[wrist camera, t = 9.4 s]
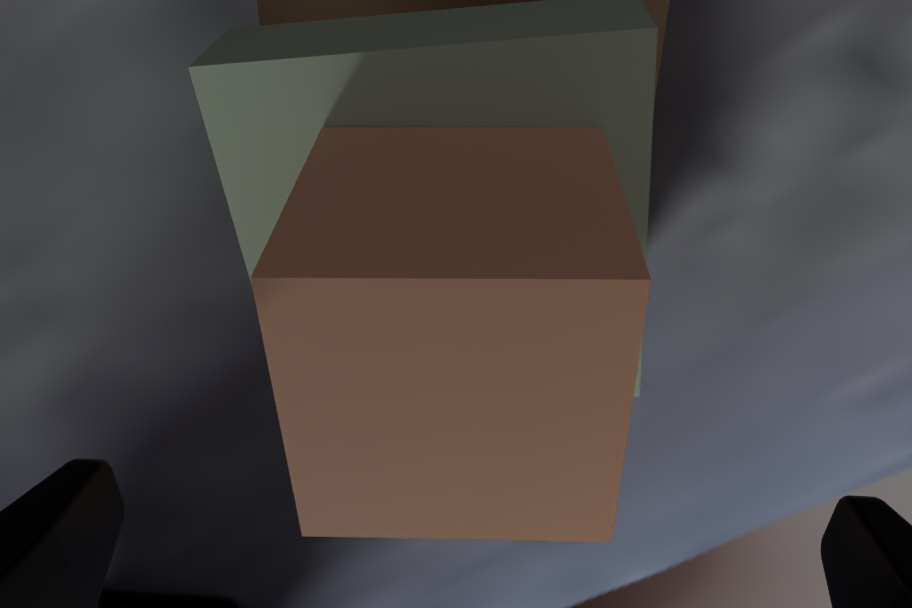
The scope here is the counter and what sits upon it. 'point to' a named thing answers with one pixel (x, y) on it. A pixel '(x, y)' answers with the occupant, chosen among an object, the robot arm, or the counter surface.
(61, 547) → the robot arm
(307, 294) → the tan cube
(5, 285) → the counter surface
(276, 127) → the sage slab
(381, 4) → the walnut slab
